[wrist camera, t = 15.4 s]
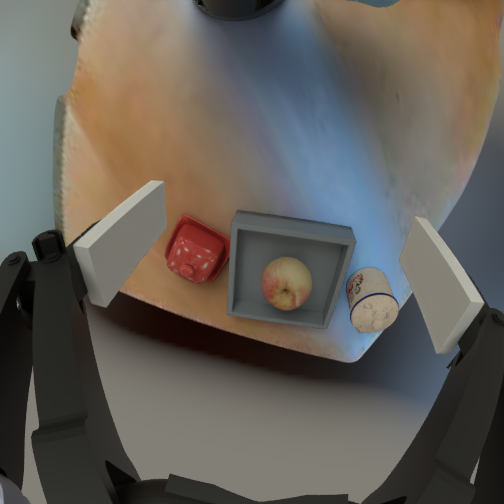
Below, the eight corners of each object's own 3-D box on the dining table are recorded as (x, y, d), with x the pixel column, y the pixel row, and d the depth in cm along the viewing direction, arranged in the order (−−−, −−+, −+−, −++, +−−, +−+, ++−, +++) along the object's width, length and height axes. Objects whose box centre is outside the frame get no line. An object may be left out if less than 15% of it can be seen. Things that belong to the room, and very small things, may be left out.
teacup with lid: (352, 262, 51) (362, 302, 41) (394, 268, 50) (411, 308, 40) (335, 309, 57) (340, 352, 47) (374, 314, 57) (384, 355, 47)
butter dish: (239, 239, 52) (229, 265, 45) (213, 281, 58) (202, 308, 51) (184, 209, 51) (166, 229, 43) (164, 254, 56) (147, 278, 49)
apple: (290, 295, 55) (288, 324, 49) (254, 270, 54) (247, 298, 47) (321, 267, 51) (324, 295, 44) (284, 239, 49) (281, 264, 42)
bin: (231, 298, 59) (226, 314, 55) (237, 210, 49) (231, 222, 45) (325, 312, 58) (326, 329, 54) (351, 227, 48) (356, 240, 43)
